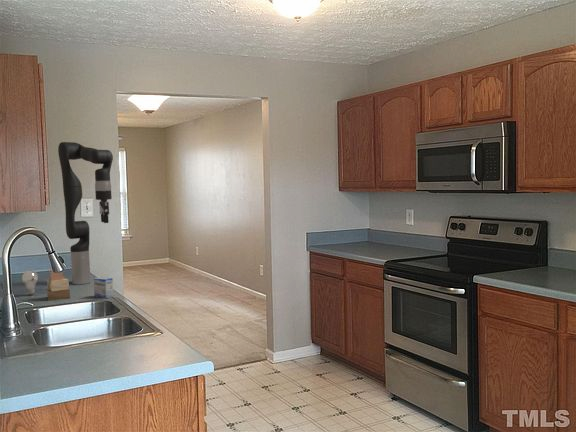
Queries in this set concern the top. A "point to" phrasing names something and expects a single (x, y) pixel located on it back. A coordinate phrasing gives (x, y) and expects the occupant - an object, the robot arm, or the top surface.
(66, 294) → the tower bottom
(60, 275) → the cube
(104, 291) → the medicine box
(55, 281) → the tower top
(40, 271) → the top surface
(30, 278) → the light bulb
